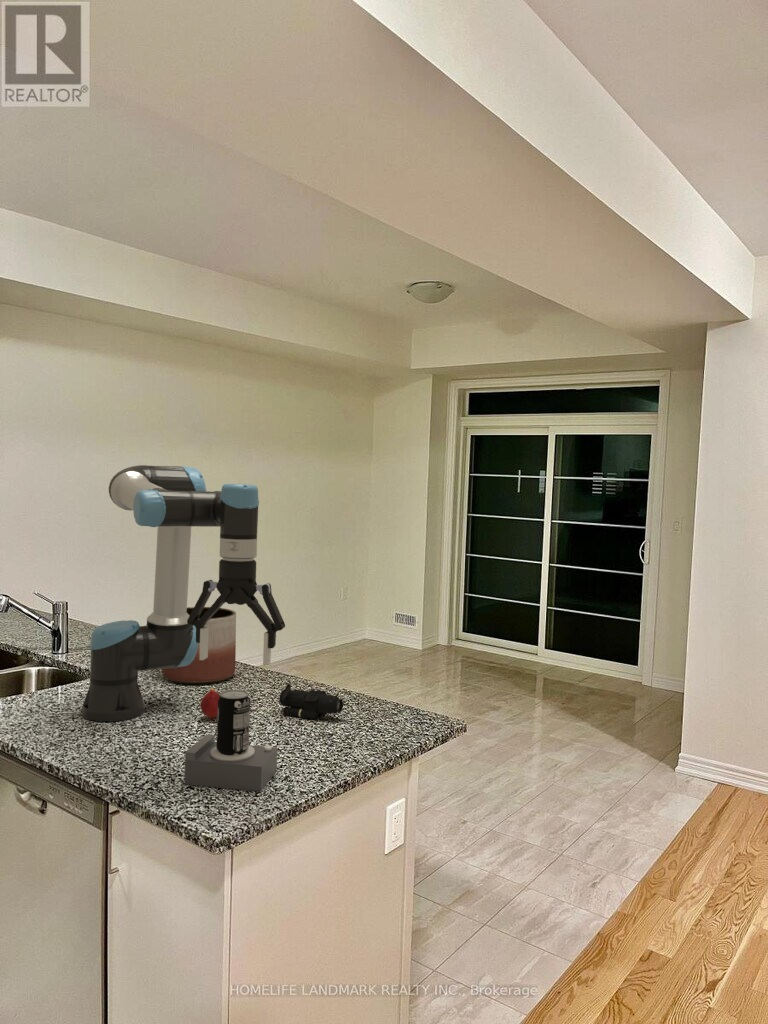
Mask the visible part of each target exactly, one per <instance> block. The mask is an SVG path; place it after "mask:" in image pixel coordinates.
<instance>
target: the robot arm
mask: <svg viewBox="0 0 768 1024" xmlns="http://www.w3.org/2000/svg"><path fill="white" fill-rule="evenodd" d="M108 494H109V498H110V499H111V501H112V503H114V505H116V507H119V508H120V509H122V510H125V511H130V512H131V511H133V517H134V520H135V523H136V524H137V525H138V526H140V527H150V528H157V532H156V533H157V534H156V535H157V536H156V552H155V554H156V555H155V572H154V573H155V574H154V587H153V588H154V590H153V591H154V592H153V593H154V594H153V610H152V611H153V612H152V613H151V614H149V615H148V616H147V617H146V625H140V624H139V623H140V622H139V621H137V620H130V619H129V620H116V621H112V622H108V623H104V624H101V625H99V626H96V627H95V628H94V629H93V631H92V633H91V638H90V645H89V649H90V665H89V668H90V669H89V670H90V671H89V672H90V673H89V686H88V690H87V692H86V694H85V698H84V701H83V703H82V706H81V716H82V718H84V719H86V718H87V719H86V720H88V719H90V720H89V721H92V720H96V721H95V722H102V721H110V722H120V721H119V720H121V721H126V720H131V719H134V718H136V717H140V716H141V715H142V714H144V711H145V702H144V698H143V696H142V693H141V688H140V687H139V682H138V680H139V679H138V678H139V677H138V675H139V672H141V671H152V670H154V671H155V670H162V669H165V668H177V667H182V666H187V665H189V664H190V663H191V662H192V661H193V660H194V658H195V656H196V653H197V649H198V643H200V656H199V660H204V659H206V658H208V632H209V627H207V626H205V627H204V625H206V623H207V622H208V621H209V620H210V618H211V617H212V616H213V615H214V614H215V613H216V612H217V611H218V609H219V608H222V606H223V605H224V604H228V605H238V606H243V605H246V606H247V607H248V608H250V610H251V611H252V612H253V614H254V615H255V617H256V618H257V619H258V620H259V622H260V623H261V624H262V626H263V627H264V629H266V631H265V632H264V633H263V654H262V658H263V659H262V666H267V665H269V664H270V663H271V659H272V658H271V656H272V654H271V653H272V649H274V648H275V647H276V639H277V632H278V631H279V632H280V631H282V630H283V629H284V628H286V624H285V621H284V618H283V617H282V615H281V611H280V610H279V607H278V606H277V603H276V601H275V598H274V596H273V593H272V585H271V583H269V582H266V583H265V584H257V561H256V558H257V554H258V553H257V551H258V525H259V524H258V523H259V522H258V521H259V505H260V500H259V488H258V486H257V485H255V484H251V483H250V484H246V483H224V484H223V485H222V486H221V490H214V491H208V490H207V487H206V482H205V479H204V477H203V474H202V473H201V470H200V471H199V469H197V468H195V467H190V466H182V465H181V466H177V465H175V466H174V465H170V466H168V465H146V464H145V465H144V464H143V465H141V464H140V465H139V464H138V465H133V466H128V467H126V468H123V469H122V470H120V471H118V472H117V473H116V474H115V475H113V476H112V478H111V479H110V482H109V484H108ZM192 527H202V528H205V527H209V528H210V527H217V528H219V527H220V528H219V530H220V531H219V533H220V534H219V557H220V558H221V559H220V560H219V563H218V581H213V580H212V579H208V580H204V582H203V584H202V591H201V593H200V595H199V597H198V599H197V601H196V603H195V604H194V606H193V607H194V608H193V610H192V612H191V614H190V615H189V614H188V613H187V607H188V597H189V596H188V593H189V574H190V573H189V572H190V559H191V558H190V557H191V555H190V554H191V541H192V540H191V537H192ZM215 589H216V590H217V591H218V593H219V594H220V595H219V596H218V597H217V598H216V600H215V601H214V602H213V604H211V606H209V607H210V608H209V609H208V610H207V611H206V613H205V614H204V615H203V616H202V617H201V618H200V619H198V618H199V616H200V614H201V612H202V610H203V608H204V607H206V604H207V602H208V601H209V599H210V597H211V594H212V592H214V591H215ZM257 592H259V594H260V595H261V596H262V599H263V601H264V604H265V605H266V609H267V611H268V613H269V615H270V616H269V615H268V613H267V612H266V611H265V610H264V608H263V607H262V606H261V605H260V603H259V601H258V599H257V598H256V596H255V594H256V593H257ZM117 720H118V721H117Z"/></svg>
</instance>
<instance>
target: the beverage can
mask: <svg viewBox="0 0 768 1024" xmlns="http://www.w3.org/2000/svg"><path fill="white" fill-rule="evenodd" d="M219 694H220V698H219V700H218V712H217V716H216V720H217V721H216V742H217V745H216V748H217V750H218V751H219V752H220V753H221V754H224V755H239V754H242V753H244V752H245V751H246V750H247V749H248V747H249V745H250V720H251V719H250V715H251V713H250V712H251V699H250V698H249V692H248V691H246V690H242V689H229V690H223V691H222V692H220V693H219Z"/></svg>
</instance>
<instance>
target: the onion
mask: <svg viewBox="0 0 768 1024" xmlns="http://www.w3.org/2000/svg"><path fill="white" fill-rule="evenodd" d="M219 698H220V693H218V692H217V691H216V690H215V689H214V688H213V687H211V688H210V689H209V691H208V692H207V693H206V694H204V696H203V697H202V698H201V700H200V705H199V706H200V711H202V713H203V714H204V715H205V716H206V717H207V718H209V720H213V719H214V718H217V712H218V700H219Z"/></svg>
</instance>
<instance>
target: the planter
mask: <svg viewBox="0 0 768 1024" xmlns="http://www.w3.org/2000/svg"><path fill="white" fill-rule="evenodd" d="M194 607H195V606H189V607H188V606H187V613H188V614H189V615H190V614H191V612H192V610H193V608H194ZM210 607H211V606H204V608H203V610H202V612H201V614H200V616H199V618H198V619H200V618H201V617H202V616H203V615H204V614H205V613H206V611H207V610H208V609H209V608H210ZM205 626H207V627H209V632H208V658H206V659H204V660H199V656H200V643H198V649H197V653H196V656H195V658H194V660H193V661H192V662H191V663H190V664H189V665H187V666H182V667H177V668H165V669H161V670H162V677H164V678H165V679H167V681H171V682H173V683H176V684H183V685H207V684H208V685H209V684H215V683H219V682H224V681H226V680H228V679H230V678H231V677H232V676H233V675H235V673H236V657H237V656H236V653H237V652H236V650H237V645H236V642H237V641H236V640H237V639H236V638H237V612H236V611H235V610H233V609H230V608H223V607H220V608H219V609H218V611H217V612H216V613H215V614H214V615H213V616H212V617H211V618H210V620H209V621H208V622H207V623H206V625H204V627H205Z"/></svg>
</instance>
